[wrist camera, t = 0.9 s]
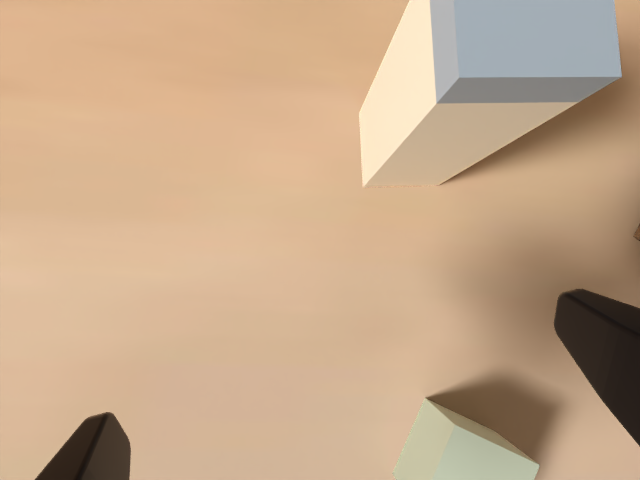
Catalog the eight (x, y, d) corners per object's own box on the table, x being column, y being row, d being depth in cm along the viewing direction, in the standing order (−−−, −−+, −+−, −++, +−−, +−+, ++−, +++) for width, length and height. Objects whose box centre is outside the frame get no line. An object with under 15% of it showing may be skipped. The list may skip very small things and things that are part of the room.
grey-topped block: (437, 185, 23) (622, 76, 10) (362, 187, 22) (459, 77, 10) (432, 112, 23) (606, -81, 10) (359, 113, 23) (447, -85, 10)
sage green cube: (494, 430, 22) (539, 464, 18) (463, 505, 21) (503, 558, 17) (424, 397, 22) (455, 424, 18) (392, 472, 21) (416, 517, 17)
